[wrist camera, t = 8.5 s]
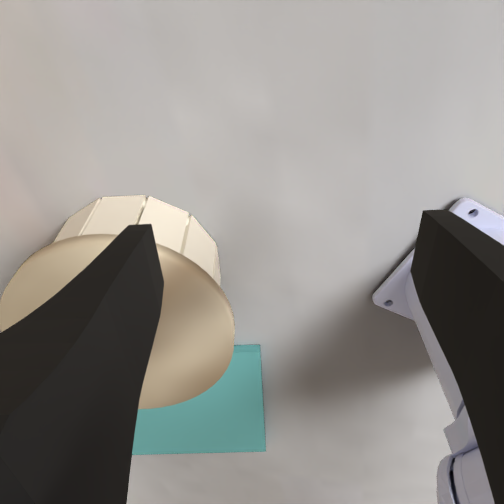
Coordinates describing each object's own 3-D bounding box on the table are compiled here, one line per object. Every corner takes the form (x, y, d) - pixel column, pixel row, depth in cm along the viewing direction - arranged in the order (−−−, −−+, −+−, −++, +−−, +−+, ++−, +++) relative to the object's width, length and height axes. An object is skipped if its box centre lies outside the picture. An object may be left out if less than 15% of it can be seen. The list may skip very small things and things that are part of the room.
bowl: (246, 237, 25) (245, 291, 21) (184, 338, 29) (174, 396, 26) (83, 168, 22) (50, 216, 18) (44, 290, 27) (12, 347, 23)
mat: (259, 344, 30) (259, 351, 29) (265, 444, 37) (265, 451, 36) (81, 350, 30) (78, 357, 30) (120, 448, 37) (119, 455, 37)
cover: (276, 294, 21) (281, 382, 17) (180, 414, 27) (167, 501, 23) (40, 191, 18) (-22, 270, 14) (-12, 353, 24) (-67, 442, 19)
